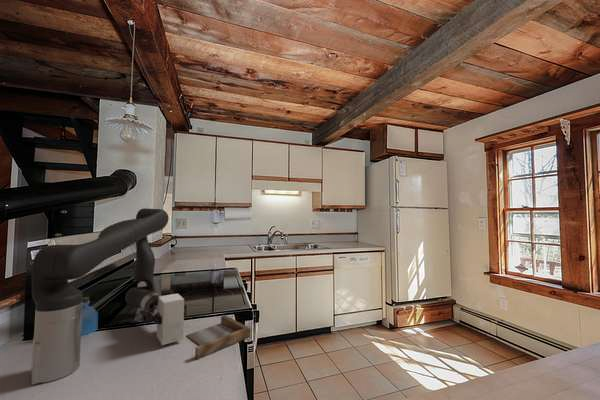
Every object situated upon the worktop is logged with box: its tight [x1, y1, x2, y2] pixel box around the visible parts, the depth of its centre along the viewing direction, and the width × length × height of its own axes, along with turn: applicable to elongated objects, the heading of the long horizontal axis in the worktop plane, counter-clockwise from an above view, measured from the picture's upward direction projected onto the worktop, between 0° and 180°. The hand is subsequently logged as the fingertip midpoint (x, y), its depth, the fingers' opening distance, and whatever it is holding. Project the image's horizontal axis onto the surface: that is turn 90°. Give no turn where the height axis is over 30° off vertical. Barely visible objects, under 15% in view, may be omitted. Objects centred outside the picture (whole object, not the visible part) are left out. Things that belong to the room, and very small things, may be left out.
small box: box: [156, 293, 185, 346], centre depth 85 cm, size 8×6×13 cm
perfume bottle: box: [81, 296, 99, 338], centre depth 90 cm, size 6×6×12 cm
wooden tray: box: [186, 314, 252, 360], centre depth 86 cm, size 18×16×3 cm
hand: (173, 317), depth 83 cm, fingers closed on small box, 7 cm apart
